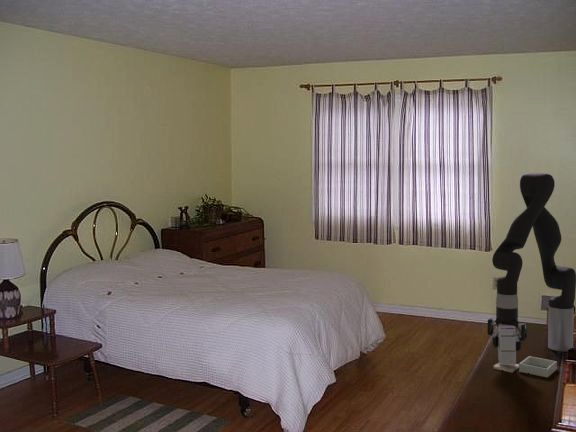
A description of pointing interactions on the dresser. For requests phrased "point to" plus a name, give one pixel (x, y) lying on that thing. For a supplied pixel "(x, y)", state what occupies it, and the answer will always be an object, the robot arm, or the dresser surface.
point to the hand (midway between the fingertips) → (506, 348)
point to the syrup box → (507, 344)
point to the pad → (506, 367)
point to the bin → (527, 368)
